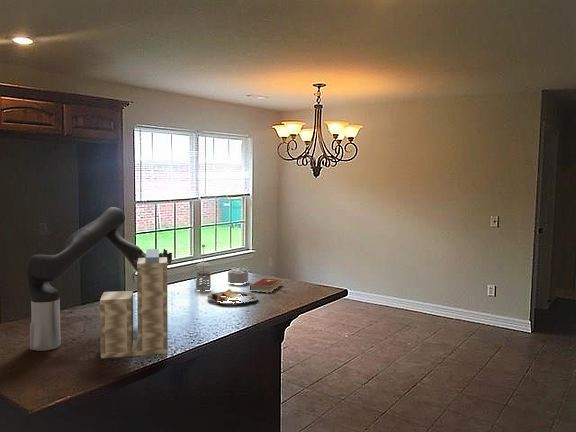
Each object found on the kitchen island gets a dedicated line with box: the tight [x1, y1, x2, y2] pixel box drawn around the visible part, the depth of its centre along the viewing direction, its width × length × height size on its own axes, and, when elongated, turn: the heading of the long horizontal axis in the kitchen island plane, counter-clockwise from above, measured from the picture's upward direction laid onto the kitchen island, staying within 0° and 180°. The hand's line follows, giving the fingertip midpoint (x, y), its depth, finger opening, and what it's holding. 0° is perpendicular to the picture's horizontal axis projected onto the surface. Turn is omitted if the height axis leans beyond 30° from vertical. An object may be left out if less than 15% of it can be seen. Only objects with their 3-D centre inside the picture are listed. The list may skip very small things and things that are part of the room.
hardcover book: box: [249, 277, 283, 291], centre depth 281 cm, size 12×21×4 cm, turn 164°
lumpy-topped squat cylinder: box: [227, 267, 249, 283], centre depth 294 cm, size 10×13×9 cm
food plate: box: [207, 289, 259, 306], centre depth 252 cm, size 25×23×4 cm
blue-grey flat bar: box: [145, 248, 160, 263], centre depth 181 cm, size 4×20×2 cm, turn 14°
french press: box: [190, 244, 212, 291], centre depth 274 cm, size 10×12×25 cm
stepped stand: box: [99, 257, 169, 359], centre depth 177 cm, size 22×12×32 cm, turn 104°
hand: (152, 251), depth 187 cm, fingers open, 8 cm apart
